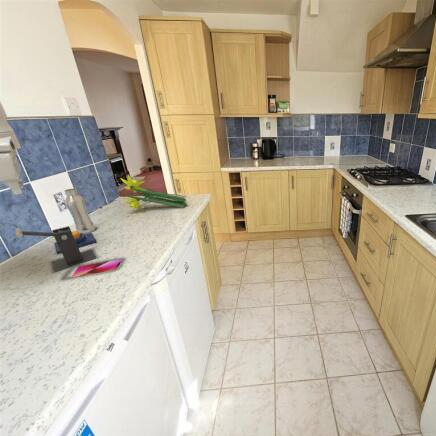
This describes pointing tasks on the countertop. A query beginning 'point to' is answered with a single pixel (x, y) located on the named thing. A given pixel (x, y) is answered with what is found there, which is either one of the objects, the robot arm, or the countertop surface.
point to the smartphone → (97, 268)
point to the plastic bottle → (78, 211)
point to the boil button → (76, 234)
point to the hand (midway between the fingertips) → (19, 190)
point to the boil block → (80, 241)
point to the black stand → (69, 250)
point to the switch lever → (32, 233)
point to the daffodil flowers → (151, 195)
